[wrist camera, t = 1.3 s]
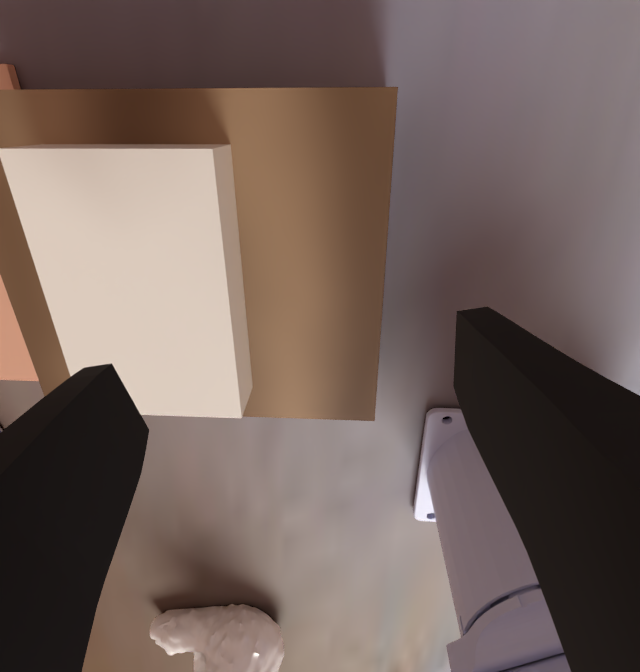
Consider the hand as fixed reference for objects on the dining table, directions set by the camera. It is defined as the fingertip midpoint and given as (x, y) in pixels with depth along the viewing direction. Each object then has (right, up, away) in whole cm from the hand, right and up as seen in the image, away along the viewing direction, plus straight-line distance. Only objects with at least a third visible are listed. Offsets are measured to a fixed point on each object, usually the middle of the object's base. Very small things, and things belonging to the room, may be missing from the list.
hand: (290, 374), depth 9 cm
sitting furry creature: (-6, -21, +23) cm, 32 cm away
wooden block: (-4, +5, +10) cm, 11 cm away
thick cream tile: (-5, +3, +6) cm, 9 cm away
